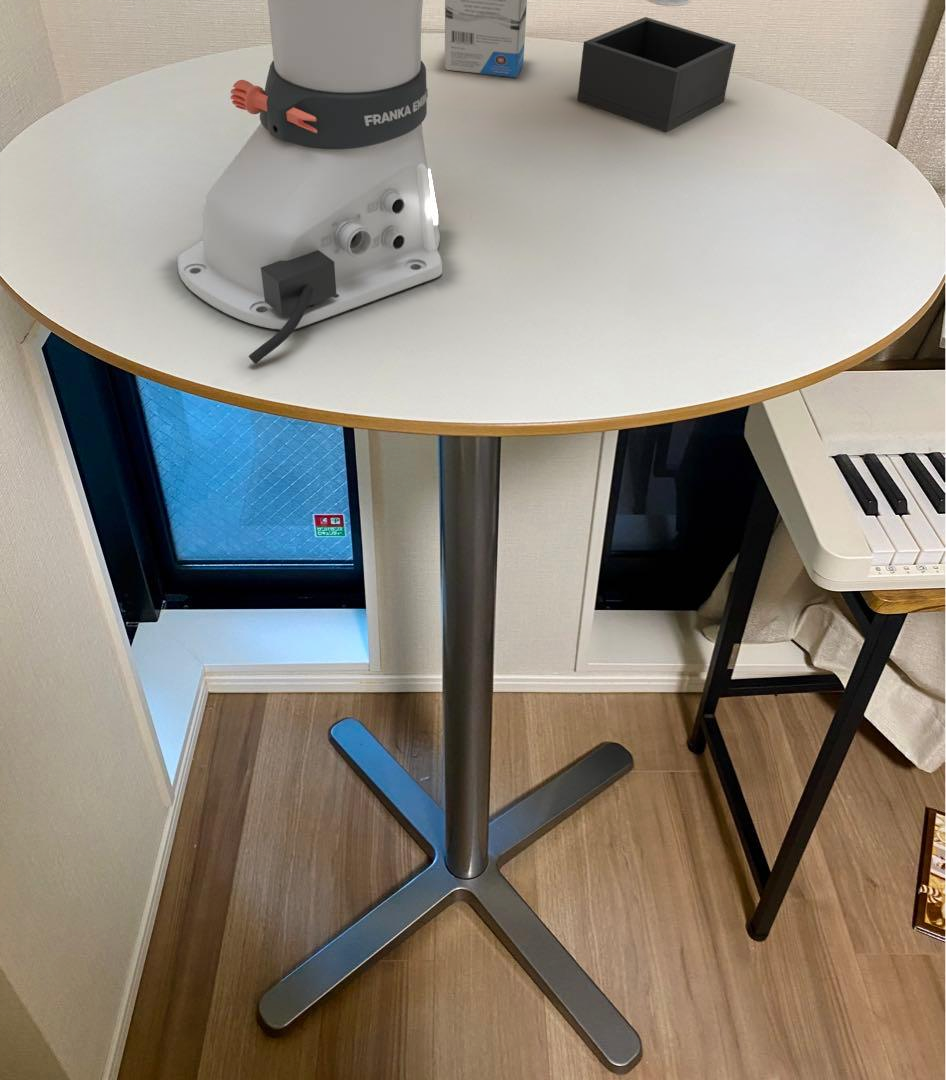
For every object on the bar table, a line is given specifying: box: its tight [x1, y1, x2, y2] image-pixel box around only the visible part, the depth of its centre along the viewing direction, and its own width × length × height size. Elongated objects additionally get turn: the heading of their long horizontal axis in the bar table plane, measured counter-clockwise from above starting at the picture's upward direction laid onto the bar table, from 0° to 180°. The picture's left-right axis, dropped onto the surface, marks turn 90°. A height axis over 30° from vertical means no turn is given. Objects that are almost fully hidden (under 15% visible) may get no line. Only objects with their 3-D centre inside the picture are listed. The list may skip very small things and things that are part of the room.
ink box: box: [444, 0, 528, 78], centre depth 110 cm, size 9×5×12 cm, turn 77°
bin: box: [576, 16, 736, 133], centre depth 107 cm, size 12×12×6 cm
